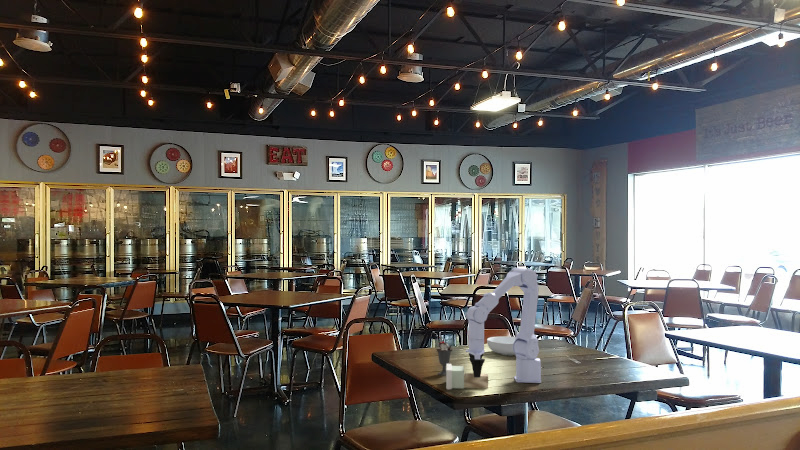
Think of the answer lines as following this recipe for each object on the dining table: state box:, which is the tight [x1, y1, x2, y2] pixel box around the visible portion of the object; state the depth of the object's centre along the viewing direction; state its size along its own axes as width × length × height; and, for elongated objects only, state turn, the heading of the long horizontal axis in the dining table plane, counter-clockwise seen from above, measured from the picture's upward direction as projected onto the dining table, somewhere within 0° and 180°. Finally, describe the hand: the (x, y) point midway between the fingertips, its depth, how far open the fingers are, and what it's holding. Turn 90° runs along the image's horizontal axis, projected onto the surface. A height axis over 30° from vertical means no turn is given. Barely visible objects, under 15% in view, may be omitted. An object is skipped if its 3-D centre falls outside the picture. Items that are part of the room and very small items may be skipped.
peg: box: [464, 372, 489, 389], centre depth 217 cm, size 12×4×5 cm, turn 85°
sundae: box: [436, 336, 453, 376], centre depth 236 cm, size 7×7×15 cm
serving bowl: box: [486, 335, 526, 357], centre depth 278 cm, size 21×21×7 cm
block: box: [452, 365, 465, 389], centre depth 218 cm, size 4×8×6 cm, turn 175°
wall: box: [445, 363, 453, 390], centre depth 218 cm, size 2×11×7 cm, turn 175°
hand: (476, 374), depth 217 cm, fingers open, 7 cm apart
